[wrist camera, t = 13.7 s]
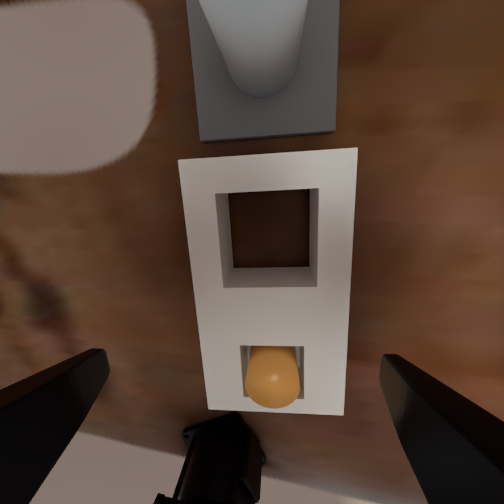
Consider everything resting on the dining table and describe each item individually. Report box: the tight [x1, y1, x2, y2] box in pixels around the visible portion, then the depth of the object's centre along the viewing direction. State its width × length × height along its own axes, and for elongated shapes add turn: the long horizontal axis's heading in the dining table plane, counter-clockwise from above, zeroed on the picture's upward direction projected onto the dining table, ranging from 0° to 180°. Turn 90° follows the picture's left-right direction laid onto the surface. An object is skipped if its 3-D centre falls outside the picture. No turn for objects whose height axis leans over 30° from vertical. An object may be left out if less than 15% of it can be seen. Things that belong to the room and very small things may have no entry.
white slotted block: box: [178, 148, 358, 415], centre depth 18 cm, size 10×18×4 cm, turn 3°
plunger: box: [245, 346, 300, 409], centre depth 18 cm, size 4×4×4 cm
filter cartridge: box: [199, 0, 308, 98], centre depth 11 cm, size 4×4×9 cm
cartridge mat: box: [186, 0, 340, 143], centre depth 16 cm, size 9×9×1 cm
